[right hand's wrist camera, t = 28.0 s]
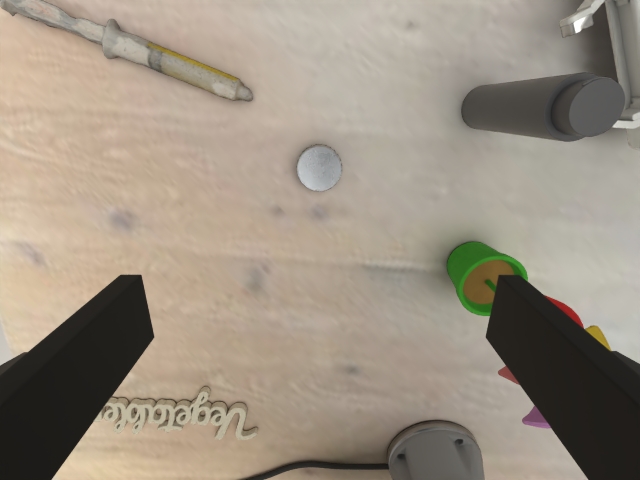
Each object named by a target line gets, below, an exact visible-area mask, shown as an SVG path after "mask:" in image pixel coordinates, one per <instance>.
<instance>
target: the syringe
mask: <svg viewBox="0 0 640 480" xmlns="http://www.w3.org/2000/svg"><path fill="white" fill-rule="evenodd" d="M0 7H1V8H2V9H4V10H6V11H8V12H9V13H10V14H11V15H12V16H14V15H15V14H16V13H19V14H21V15H24V16H26V17H28V18H31V19H34V20H36V21H41V22H43V23H45V24H46V25H48V26H50V27H56V28H61V29H64V30H66V31H69V32H72V33H75V34H77V35H79V36H82V37H84V38H86V39H88V40H90V41H92V42H95V43H98V44H101V45H103V48H102V49H103V53H104V55H105V56H106V57H107V58H108V59H113V58H117V57H118V56H120V57H122V58H125V59H128V60H130V61H133V62H135V63H139V64H142V65H145V66H147V67H149V68H152V69H154V70H156V71H158V72H161V73H163V74H165V75H169V76H172V77H174V78H177V79H179V80H182V81H185V82H187V83H189V84H192V85H194V86H197V87H200V88H202V89H205V90H207V91H209V92H211V93H214V94H216V95H219V96H221V97H223V98H227V99H231V100H233V101H234V100H245V101H251V100H252V99H253V96H252V92H251V90H250V89H249V88H247V87H245V86H244V84H243V83H242V82H241V81H240V79H238V78H236V77H233V76H231V75H229V74H226V73H224V72H221V71H219V70H217V69H214V68H212V67H209V66H207V65H204V64H202V63H199V62H197V61H195V60H192V59H190V58H187V57H185V56H182V55H180V54H177V53H175V52H173V51H170V50H168V49H166V48H163V47H161V46H158V45H156V44H154V43H152V42H150V41H147V40H144V39H142V38H141V37H139V36H136V35H132V34H129V33H125V32H123V31H120V27H119V25H118V24H117V22H116V20H114V19H110V20H109V21H108V23H107V26H106V27H105V26H102V25H98V24H96V23H93V22H91V21H89V20H87V19H83V18H79V19H76V18H73V17H70V16H69V15H68V14H66V13H65V12H64V11H63V10H62V9H60V8H59V7H57V6H54V5H52V4H49V3H47V2H45V1H42V0H0Z"/></svg>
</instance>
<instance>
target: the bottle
mask: <svg viewBox="0 0 640 480" xmlns="http://www.w3.org/2000/svg"><path fill="white" fill-rule="evenodd" d="M624 106H625V94H624V90H623V88H622V87H621V85H620V84H619V83H618V82H616V81H614V80H613V79H612V78H608V77H599V76H597V75H595V74H592V73H576V74H569V75H561V76H553V77H546V78H538V79H530V80H523V81H515V82H507V83H500V84H492V85H484V86H479V87H477V88H475V89H473V90H472V91H471V92H470V93H469V94H468V95H467V96H466V98H465V100H464V102H463V105H462V117H463V120H464V121H465V123H466V124H467V125H468V126H470V127H471V128H474V129H480V130H487V131H494V132H502V133H509V134H516V135H523V136H530V137H537V138H544V139H551V140H558V141H567V142H570V141H576V140H579V139H582V138H584V137H592V136H597V135H600V134H602V133H604V132H606V131H607V130H609V129H610V128H611V127H612V126H613V125H614V124H615V123H616V122H617V121H618V119H619V118H620V116H621V114H622V112H623V109H624Z"/></svg>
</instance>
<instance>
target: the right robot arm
mask: <svg viewBox="0 0 640 480" xmlns="http://www.w3.org/2000/svg"><path fill="white" fill-rule="evenodd" d="M153 338H154V333H153V328H152V324H151V319H150V314H149V309H148V304H147V300H146V295H145V290H144V285H143V280H142V275H120V276H119V277H117V278H116V279H115V280H114V281H113V282H111V283H110V284H109V285H108V286H107V287H105V288H104V289H103V290H102V291H101V292H99V293H98V294H97V295H96V296H95V297H93V298H92V299H91V300H90V301H89V302H87V303H86V304H85V305H84V306H83V307H81V308H80V309H79V310H78V311H77V312H75V313H74V314H73V315H72V316H71V317H69V318H68V319H67V320H66V321H65V322H63V323H62V324H61V325H60V326H59V327H58V328H56V329H55V330H54V331H53V332H52V333H50V334H49V335H48V336H47V337H46V338H44V339H43V340H42V341H41V342H40V343H38V344H37V345H36V346H35V347H34V348H32V349H31V350H30V351H29V352H24V353H22V354H20V355H18V356H17V357H15V358H13V359H11V360H9V361H8V362H6V363H4V364H2V365H1V366H0V480H52V478H53V477H54V475H55V474H56V473H57V471H58V470H59V468H60V467H61V466H62V464H63V463H64V462H65V460H66V459H67V457H68V456H69V455H70V453H71V452H72V451H73V449H74V448H75V446H76V445H77V444H78V442H79V441H80V439H81V438H82V437H83V435H84V434H85V433H86V431H87V430H88V428H89V427H90V426H91V424H92V423H93V421H94V420H95V419H96V417H97V416H98V415H99V413H100V412H101V410H102V409H103V408H104V406H105V405H106V403H107V402H108V401H109V399H110V398H111V397H112V395H113V394H114V392H115V391H116V390H117V388H118V387H119V385H120V384H121V383H122V381H123V380H124V379H125V377H126V376H127V374H128V373H129V372H130V370H131V369H132V367H133V366H134V365H135V363H136V362H137V361H138V359H139V358H140V356H141V355H142V354H143V352H144V351H145V350H146V348H147V347H148V345H149V344H150V343H151V341H152V340H153ZM486 338H487V340H488V341H489V343H490V344H491V345H492V347H493V348H494V350H495V351H496V352H497V354H498V355H499V356H500V358H501V359H502V361H503V362H504V363H505V365H506V366H507V367H508V369H509V370H510V372H511V373H512V374H513V376H514V377H515V379H516V380H517V381H518V383H519V384H520V385H521V387H522V388H523V390H524V391H525V392H526V394H527V395H528V397H529V398H530V399H531V401H532V402H533V403H534V405H535V406H536V408H537V409H538V410H539V412H540V413H541V415H542V416H543V417H544V419H545V420H546V421H547V423H548V424H549V426H550V427H551V428H552V430H553V431H554V433H555V434H556V435H557V437H558V438H559V439H560V441H561V442H562V444H563V445H564V446H565V448H566V449H567V451H568V452H569V453H570V455H571V456H572V457H573V459H574V460H575V462H576V463H577V464H578V466H579V467H580V468H581V470H582V471H583V473H584V474H585V475H586V477H587V478H588V480H640V364H639V363H637V362H635V361H633V360H631V359H630V358H628V357H626V356H624V355H622V354H621V353H619V352H617V351H610V350H609V349H608V348H606V347H605V346H604V345H603V344H602V343H600V342H599V341H598V340H597V339H596V338H594V337H593V336H592V335H591V334H590V333H588V332H587V331H586V330H585V329H584V328H582V327H581V326H580V325H579V324H578V323H577V322H575V321H574V320H573V319H572V318H571V317H569V316H568V315H567V314H566V313H565V312H563V311H562V310H561V309H560V308H559V307H557V306H556V305H555V304H554V303H553V302H551V301H550V300H549V299H548V298H547V297H545V296H544V295H543V294H542V293H541V292H539V291H538V290H537V289H536V288H535V287H533V286H532V285H531V284H530V283H529V282H527V281H526V280H525V279H524V278H523V277H521V276H520V275H498V280H497V285H496V290H495V295H494V300H493V304H492V309H491V314H490V319H489V324H488V328H487V333H486ZM387 461H388V464H340V463H327V462H313V461H310V462H298V463H293V464H289V465H286V466H283V467H280V468H278V469H275V470H273V471H270V472H268V473H265V474H262V475H259V476H256V477H252V478H249V479H246V480H264V479H267V478H270V477H273V476H275V475H278V474H280V473H283V472H286V471H289V470H292V469H297V468H304V467H319V468H330V469H361V470H374V469H389V471H390V474H391V476H392V478H393V480H485V478H484V470H483V462H482V455H481V451H480V448H479V446H478V444H477V442H476V440H475V438H474V436H473V435H472V434H471V433H470V432H469V431H468V430H467V429H465V428H464V427H462V426H460V425H458V424H455V423H451V422H446V421H429V422H424V423H420V424H416V425H414V426H411V427H409V428H407V429H406V430H404V431H402V432H401V433H400V434H399V435H397V436H396V437H395V438H394V440H393V441H392V442H391V444H390V446H389V448H388V452H387Z"/></svg>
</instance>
